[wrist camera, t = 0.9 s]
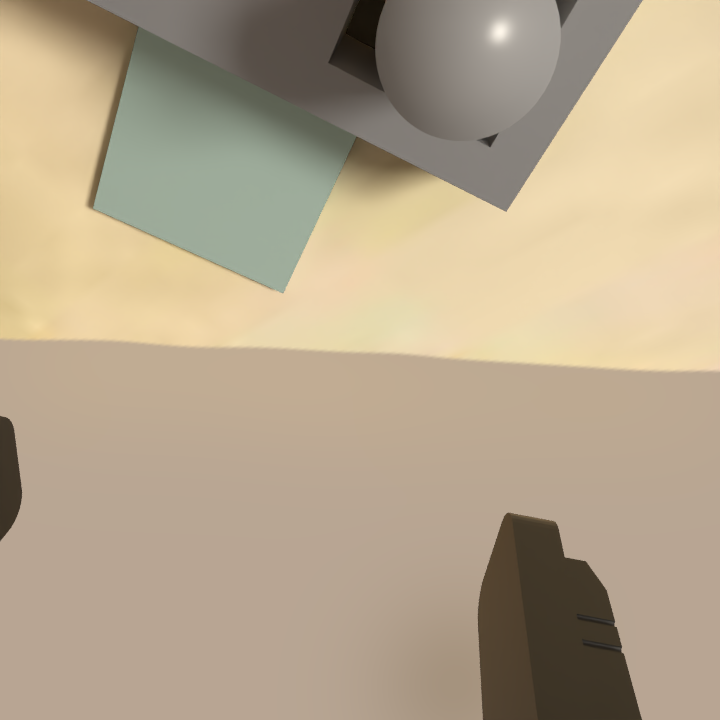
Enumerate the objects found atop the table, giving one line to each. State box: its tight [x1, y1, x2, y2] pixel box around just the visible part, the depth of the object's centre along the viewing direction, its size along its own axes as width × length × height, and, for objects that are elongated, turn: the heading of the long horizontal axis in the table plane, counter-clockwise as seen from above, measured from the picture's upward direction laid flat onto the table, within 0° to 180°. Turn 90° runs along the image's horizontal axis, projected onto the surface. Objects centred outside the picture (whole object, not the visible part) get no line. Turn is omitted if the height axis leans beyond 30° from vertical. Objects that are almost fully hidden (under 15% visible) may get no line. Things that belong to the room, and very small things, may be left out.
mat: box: [93, 27, 357, 293], centre depth 31 cm, size 10×9×1 cm
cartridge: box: [375, 0, 561, 141], centre depth 22 cm, size 5×5×12 cm
